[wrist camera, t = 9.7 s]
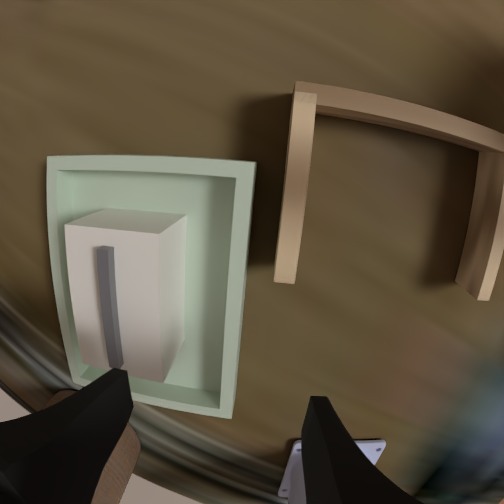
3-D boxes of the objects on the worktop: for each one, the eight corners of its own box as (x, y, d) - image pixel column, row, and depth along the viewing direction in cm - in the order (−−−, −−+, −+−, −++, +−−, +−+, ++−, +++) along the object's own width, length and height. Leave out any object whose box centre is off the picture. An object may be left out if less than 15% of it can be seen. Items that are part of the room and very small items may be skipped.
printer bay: (466, 282, 18) (488, 300, 15) (274, 262, 19) (273, 281, 16) (491, 140, 15) (519, 140, 12) (292, 93, 16) (295, 80, 13)
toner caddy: (184, 339, 20) (160, 390, 15) (114, 326, 20) (77, 369, 15) (186, 214, 18) (154, 237, 13) (107, 207, 18) (57, 227, 13)
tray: (235, 397, 22) (231, 418, 20) (86, 366, 22) (73, 382, 20) (257, 161, 17) (254, 162, 15) (68, 154, 18) (47, 156, 15)
